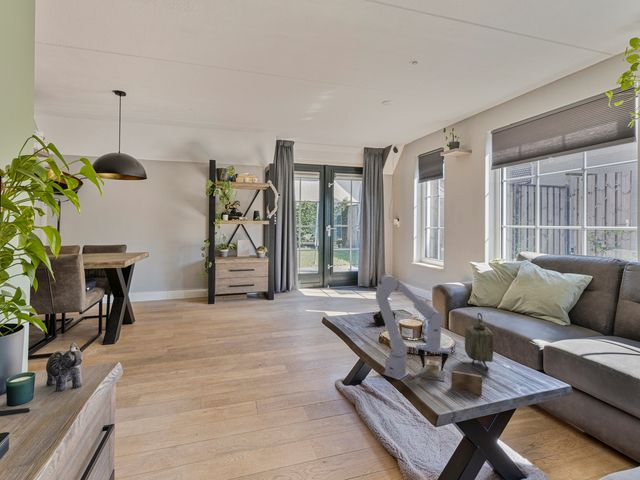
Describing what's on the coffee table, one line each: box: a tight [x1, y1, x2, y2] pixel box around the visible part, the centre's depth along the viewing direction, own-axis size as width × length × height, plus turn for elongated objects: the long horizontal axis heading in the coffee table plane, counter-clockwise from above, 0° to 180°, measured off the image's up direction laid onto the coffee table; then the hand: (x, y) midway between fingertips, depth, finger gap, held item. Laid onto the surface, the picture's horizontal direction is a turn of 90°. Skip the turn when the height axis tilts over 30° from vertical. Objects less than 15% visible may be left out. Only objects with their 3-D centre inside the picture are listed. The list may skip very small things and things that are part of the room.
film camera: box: [372, 310, 396, 327], centre depth 219 cm, size 18×12×10 cm
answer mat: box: [419, 367, 446, 383], centre depth 144 cm, size 10×10×1 cm
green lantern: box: [464, 312, 494, 371], centre depth 155 cm, size 14×9×25 cm, turn 168°
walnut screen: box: [450, 370, 483, 396], centre depth 129 cm, size 11×2×7 cm, turn 67°
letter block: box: [425, 359, 440, 377], centre depth 144 cm, size 5×5×5 cm
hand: (432, 368), depth 144 cm, fingers open, 7 cm apart
